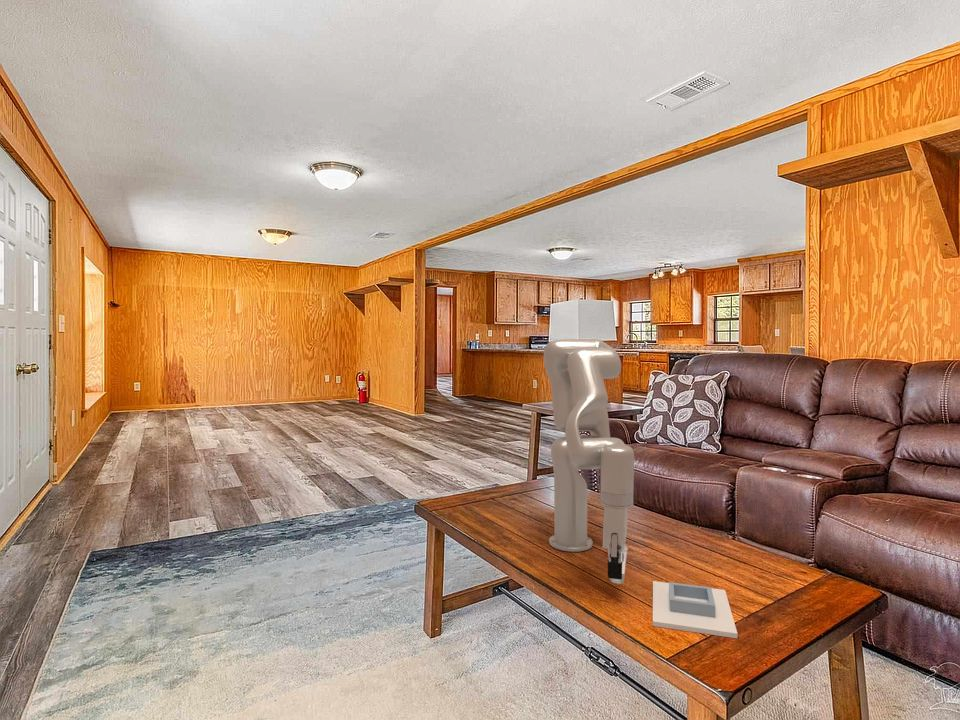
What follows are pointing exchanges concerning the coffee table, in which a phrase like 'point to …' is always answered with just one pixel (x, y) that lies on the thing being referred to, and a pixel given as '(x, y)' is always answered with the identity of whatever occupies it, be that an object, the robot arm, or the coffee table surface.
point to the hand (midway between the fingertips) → (615, 572)
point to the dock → (692, 609)
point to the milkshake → (623, 560)
